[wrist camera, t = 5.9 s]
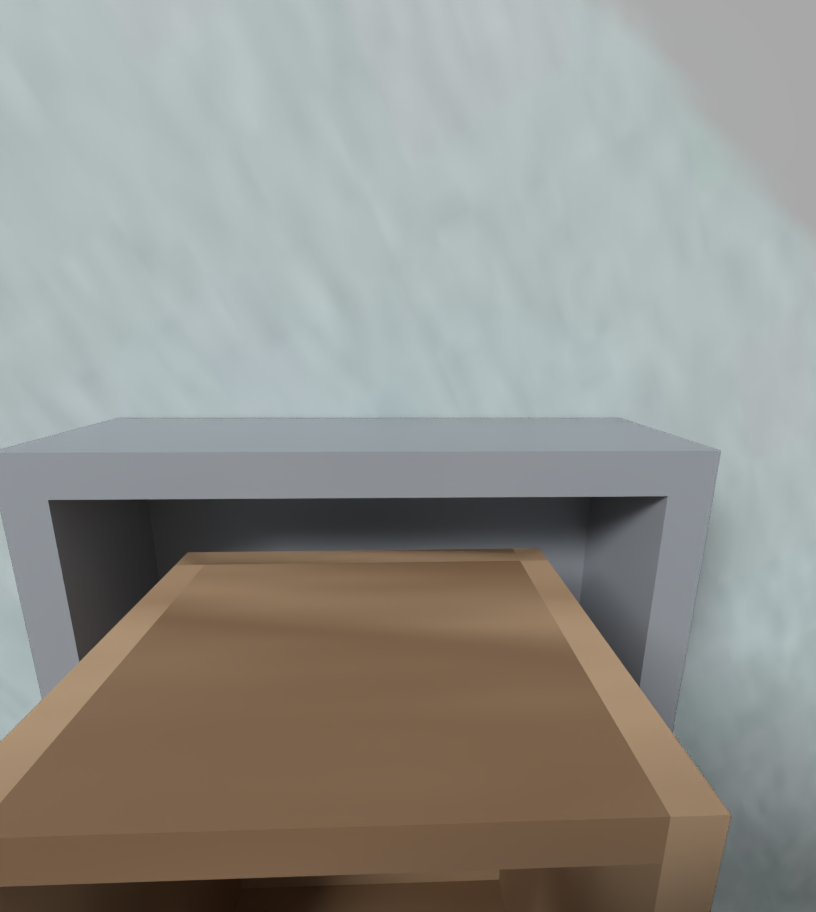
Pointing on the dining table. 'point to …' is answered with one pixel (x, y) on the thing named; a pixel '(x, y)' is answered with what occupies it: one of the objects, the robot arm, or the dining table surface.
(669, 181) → the dining table surface
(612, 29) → the dining table surface
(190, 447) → the grey crate
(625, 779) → the walnut crate
